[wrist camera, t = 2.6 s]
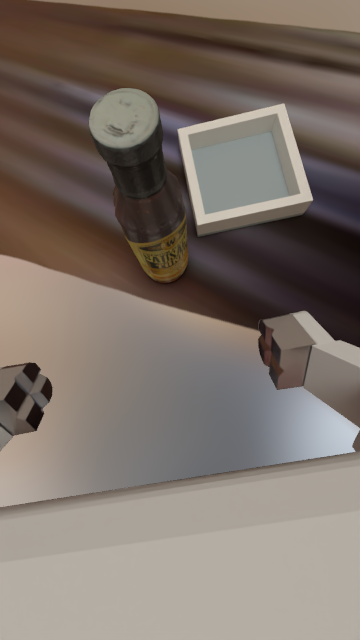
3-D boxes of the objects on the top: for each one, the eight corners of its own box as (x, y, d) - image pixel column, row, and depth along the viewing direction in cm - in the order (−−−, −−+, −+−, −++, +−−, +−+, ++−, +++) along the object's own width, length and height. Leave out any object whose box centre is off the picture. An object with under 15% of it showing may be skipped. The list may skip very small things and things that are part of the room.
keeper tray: (276, 125, 34) (284, 103, 31) (302, 214, 31) (313, 200, 28) (179, 148, 35) (177, 129, 32) (197, 237, 32) (197, 225, 29)
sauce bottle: (159, 293, 32) (92, 196, 12) (136, 258, 33) (39, 115, 13) (199, 267, 32) (197, 127, 12) (174, 232, 33) (136, 52, 13)
